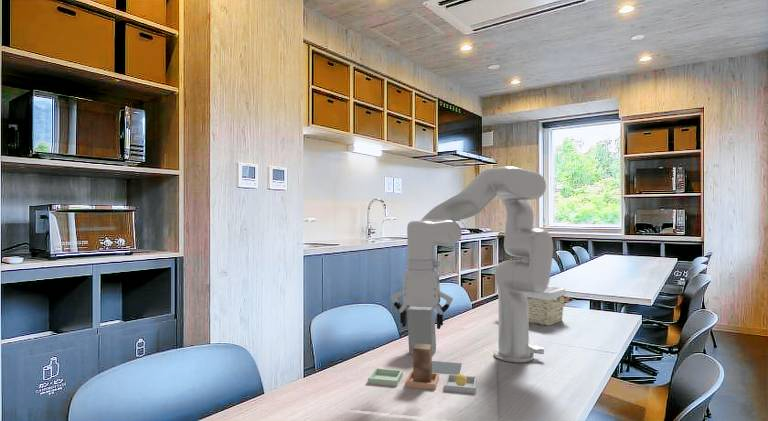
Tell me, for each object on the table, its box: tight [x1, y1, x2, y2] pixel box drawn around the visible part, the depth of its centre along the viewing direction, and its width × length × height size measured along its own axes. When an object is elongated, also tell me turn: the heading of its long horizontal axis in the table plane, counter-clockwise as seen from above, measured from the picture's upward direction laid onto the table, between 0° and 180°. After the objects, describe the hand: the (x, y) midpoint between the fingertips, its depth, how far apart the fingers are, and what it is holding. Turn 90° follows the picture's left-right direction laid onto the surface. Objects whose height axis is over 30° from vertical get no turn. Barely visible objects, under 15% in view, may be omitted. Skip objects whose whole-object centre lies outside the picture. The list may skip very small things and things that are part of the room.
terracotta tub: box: [404, 370, 440, 390], centre depth 123 cm, size 8×8×2 cm
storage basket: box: [524, 285, 566, 326], centre depth 196 cm, size 24×16×15 cm
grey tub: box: [443, 374, 478, 395], centre depth 121 cm, size 8×8×2 cm
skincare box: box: [406, 306, 437, 356], centre depth 151 cm, size 8×7×16 cm
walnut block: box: [412, 344, 433, 383], centre depth 123 cm, size 4×4×10 cm
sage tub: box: [367, 367, 404, 387], centre depth 126 cm, size 8×8×2 cm
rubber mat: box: [432, 360, 463, 375], centre depth 135 cm, size 10×10×1 cm
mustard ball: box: [455, 373, 467, 386], centre depth 121 cm, size 3×3×3 cm
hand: (421, 326), depth 124 cm, fingers open, 9 cm apart
